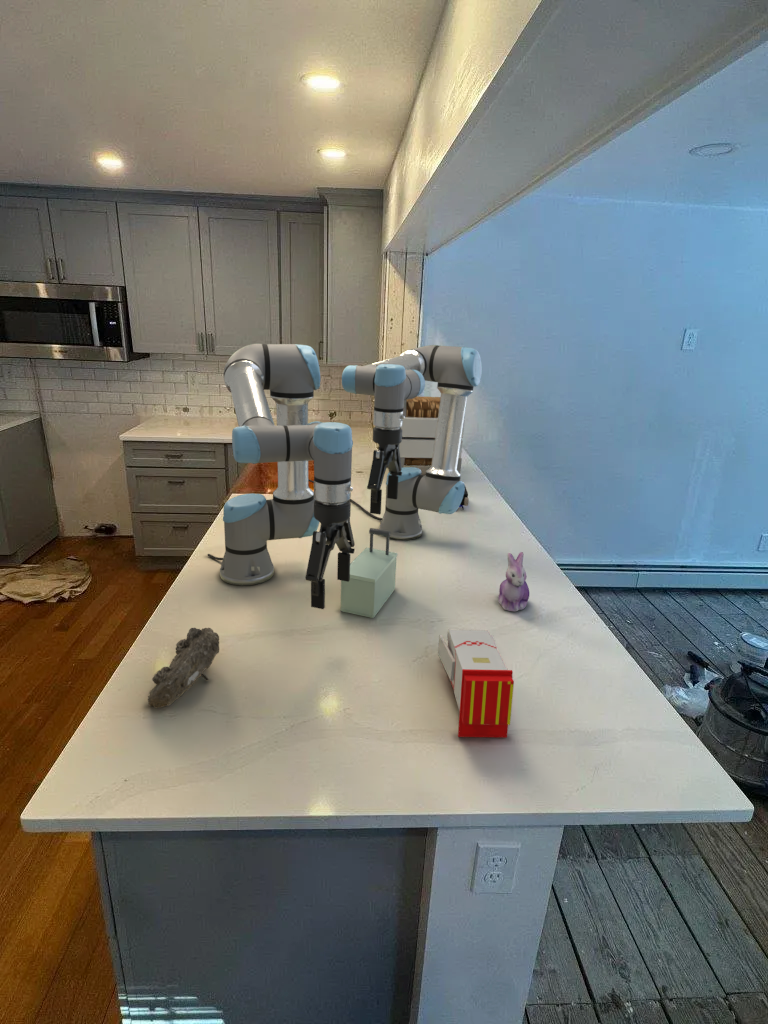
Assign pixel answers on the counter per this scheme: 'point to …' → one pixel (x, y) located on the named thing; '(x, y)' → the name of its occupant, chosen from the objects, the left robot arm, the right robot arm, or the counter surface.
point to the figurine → (514, 585)
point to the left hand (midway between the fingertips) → (331, 593)
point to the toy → (478, 682)
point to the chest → (368, 593)
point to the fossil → (184, 666)
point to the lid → (372, 560)
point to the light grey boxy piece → (420, 432)
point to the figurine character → (464, 499)
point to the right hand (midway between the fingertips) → (384, 505)
